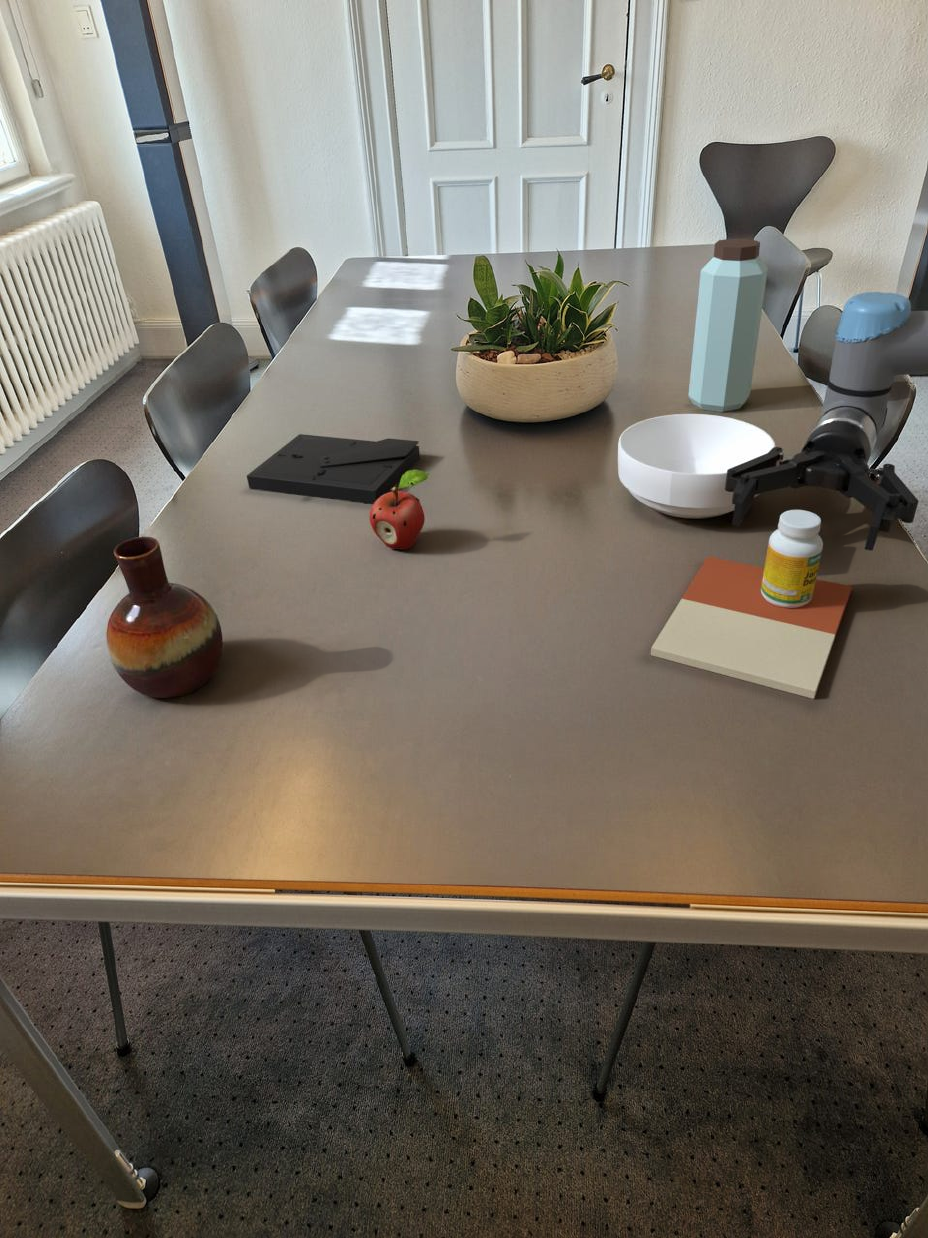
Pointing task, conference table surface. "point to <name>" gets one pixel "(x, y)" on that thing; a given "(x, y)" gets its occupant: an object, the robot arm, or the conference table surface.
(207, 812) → the conference table surface
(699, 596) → the sorting mat
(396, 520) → the apple
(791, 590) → the supplement bottle
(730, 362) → the water bottle
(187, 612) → the vase
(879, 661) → the conference table surface
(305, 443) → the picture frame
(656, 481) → the bowl
